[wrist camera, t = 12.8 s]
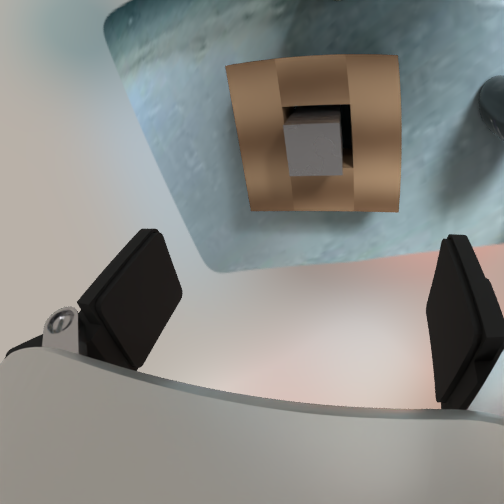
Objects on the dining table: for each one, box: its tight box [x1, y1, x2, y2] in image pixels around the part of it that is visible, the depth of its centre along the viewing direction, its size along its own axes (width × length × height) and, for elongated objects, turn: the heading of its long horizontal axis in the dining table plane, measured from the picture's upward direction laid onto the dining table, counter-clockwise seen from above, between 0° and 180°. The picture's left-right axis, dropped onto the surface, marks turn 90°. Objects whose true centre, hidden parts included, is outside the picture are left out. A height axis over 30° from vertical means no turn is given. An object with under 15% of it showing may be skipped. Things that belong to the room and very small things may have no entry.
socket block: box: [225, 54, 401, 212], centre depth 27 cm, size 14×14×6 cm
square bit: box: [283, 104, 343, 176], centre depth 26 cm, size 4×4×10 cm
